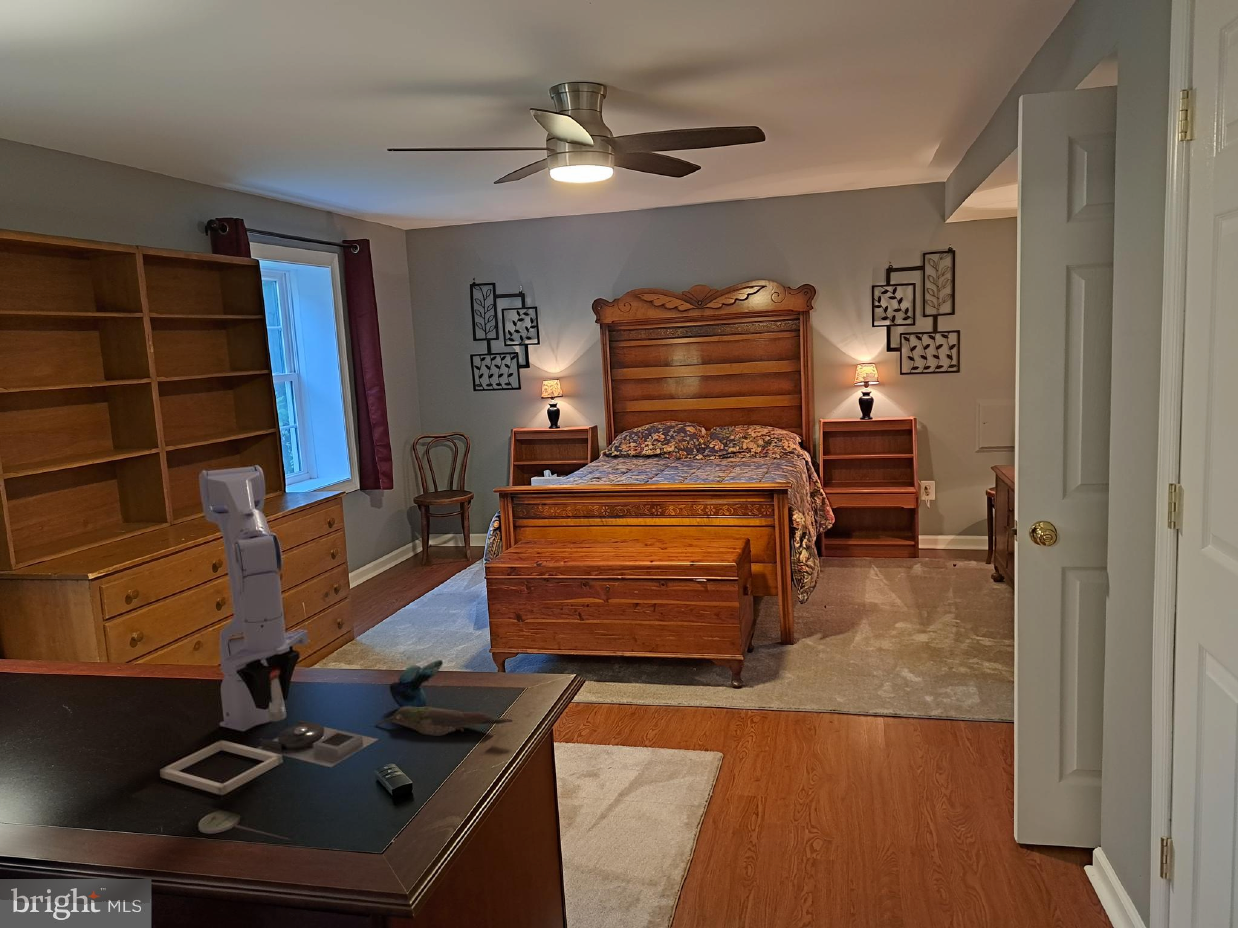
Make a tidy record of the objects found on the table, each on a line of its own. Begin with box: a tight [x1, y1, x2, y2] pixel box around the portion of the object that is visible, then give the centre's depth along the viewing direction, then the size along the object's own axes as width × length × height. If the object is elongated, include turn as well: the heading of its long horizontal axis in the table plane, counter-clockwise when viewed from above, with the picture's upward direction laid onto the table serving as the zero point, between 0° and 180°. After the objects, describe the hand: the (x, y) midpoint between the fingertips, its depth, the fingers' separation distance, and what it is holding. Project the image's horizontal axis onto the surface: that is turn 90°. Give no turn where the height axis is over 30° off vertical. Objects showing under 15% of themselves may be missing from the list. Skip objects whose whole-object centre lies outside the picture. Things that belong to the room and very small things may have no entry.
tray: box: [159, 739, 284, 796], centre depth 131 cm, size 14×11×2 cm
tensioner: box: [255, 719, 379, 768], centre depth 138 cm, size 16×10×3 cm, turn 62°
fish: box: [389, 659, 444, 708], centre depth 149 cm, size 4×10×10 cm, turn 78°
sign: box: [198, 809, 292, 841], centre depth 116 cm, size 5×1×15 cm
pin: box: [268, 665, 287, 722], centre depth 132 cm, size 3×3×8 cm
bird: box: [373, 706, 513, 737], centre depth 141 cm, size 25×5×5 cm, turn 76°
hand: (271, 703), depth 132 cm, fingers closed on pin, 3 cm apart
